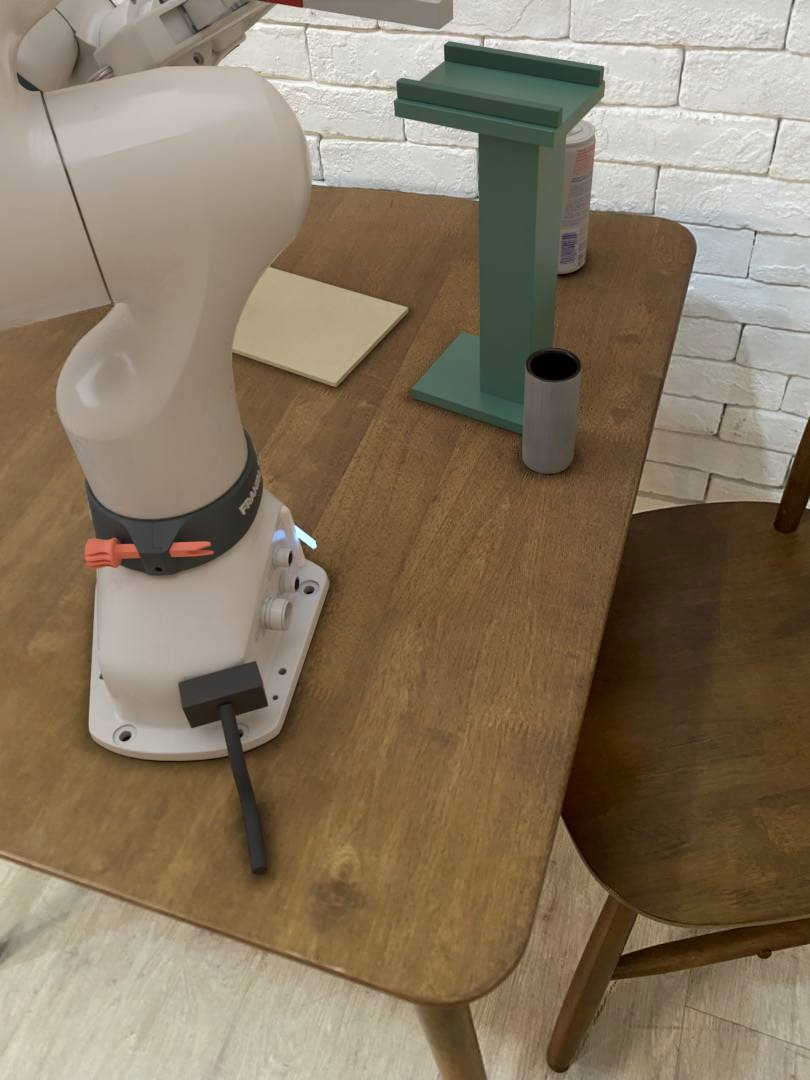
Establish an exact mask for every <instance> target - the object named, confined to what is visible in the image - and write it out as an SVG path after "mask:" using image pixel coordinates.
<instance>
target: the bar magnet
mask: <svg viewBox="0 0 810 1080" xmlns="http://www.w3.org/2000/svg"><path fill="white" fill-rule="evenodd" d="M256 1H263V2H269V3H275V4H277V5H281V6H287V7H292V8H293V7H294V8H299V9H303V8H304V9H309V10H314V11H320V12H328V13H333V14H339V15H340V14H341V15H345V16H352V17H358V18H364V19H370V20H375V21H383V22H387V23H394V24H401V25H406V26H411V27H419V28H426V29H430V30H436V31H437V30H438V31H440V30H441V29H442V28H443V27H445V26H446V25H447V24H449V23H450V22H452V21H453V20H454V0H256Z"/></svg>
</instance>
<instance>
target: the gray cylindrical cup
mask: <svg viewBox="0 0 810 1080" xmlns="http://www.w3.org/2000/svg"><path fill="white" fill-rule="evenodd" d="M582 370H583V363H582V360H581V359H580V357H579V356H577V354H575V353H574V352H572V351H570V350H568V349H566V348H559V347H553V348H545V349H541V350H538V351H536V352H534V353H533V354H531V355H530V356H529V357H528V359H527V361H526V364H525V386H524V411H523V435H522V436H521V437H522V438H521V439H522V440H521V442H522V443H521V459H522V462H523V463H524V465H525V466H526V467H527V468H528V469H530V470H532V471H533V472H536V473H538V474H542V475H543V474H544V475H552V474H553V475H554V474H559V473H561V472H563V471H565V470H567V469H568V468H569V467H570V466H571V465H572V463H573V461H574V460H573V459H574V454H575V453H574V452H575V443H576V436H577V435H576V434H577V422H578V414H579V413H578V412H579V404H580V403H579V402H580V391H581V382H582V373H583V371H582Z"/></svg>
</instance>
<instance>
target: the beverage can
mask: <svg viewBox="0 0 810 1080" xmlns="http://www.w3.org/2000/svg"><path fill="white" fill-rule="evenodd" d="M596 141H597V138H596V127H595V126H594V125H593V123H591V122H590V121H587V120H585V119H582V120H581V121H580V122H579V123H578V124H577V125H576V126H575V127H574V128H573V129H572V130H571V131H570V132H569V133H568V134H567V135H566V147H565V163H564V178H563V194H562V209H561V225H560V240H559V256H558V272H557V275H564V274H569V273H573V272H575V271H577V270H579V269H580V268H582V267H583V266H584V264H585V263H586V256H587V246H588V245H587V244H588V233H589V221H590V213H591V212H590V210H591V199H592V187H593V175H594V167H595V166H594V165H595V164H594V163H595V154H596V153H595V152H596Z"/></svg>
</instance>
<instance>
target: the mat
mask: <svg viewBox="0 0 810 1080" xmlns="http://www.w3.org/2000/svg"><path fill="white" fill-rule="evenodd" d="M408 313H409V307H408V306H404V305H401V304H397V303H394V302H391V301H387V300H383V299H380V298H378V297H374V296H370V295H366V294H364V293H360V292H356V291H353V290H350V289H346V288H342V287H340V286H335V285H333V284H329V283H326V282H322V281H319V280H315V279H311V278H309V277H305V276H301V275H298V274H294V273H291V272H288V271H285V270H281V269H277V268H274V267H271V266H269V267H268V269H267V270H266V271H265V273H264V274H263V275H262V277H261V278H260V280H259V281H258V283H257V285H256V286H255V288H254V290H253V291H252V293H251V295H250V297H249V299H248V301H247V303H246V305H245V307H244V310H243V313H242V315H241V318H240V320H239V323H238V327H237V330H236V333H235V338H234V343H233V350H232V354H233V353H234V354H236V355H240V356H242V357H246V358H249V359H250V360H251V359H252V360H254V361H257V362H260V363H263V364H265V365H269V366H271V367H274V368H278V369H281V370H282V371H283V370H284V371H286V372H289V373H291V374H296V375H298V376H301V377H304V378H307V379H309V380H313V381H315V382H319V383H321V384H324V385H328V386H331V387H333V388H337V387H338V386H339V385H340V384H341V383H342V382H343V381H344V380H345V379H346V378H347V377H348V376H349V375H350V374H351V373H352V372H353V371H354V370H355V369H356V368H357V366H359V364H360V363H361V362H363V360H364V359H365V358H366V357H367V356H368V355H369V354H370V353H371V352H372V351H373V350H374V348H376V346H377V345H379V343H380V342H382V341H383V339H385V337H386V336H387V335H388V334H389V333H391V331H392V330H393V329H394V328H395V327H396V326H397V325H398V324H399V323H400V322H401V321H402V320H403V318H404V317H406V316H407V315H408Z"/></svg>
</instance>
